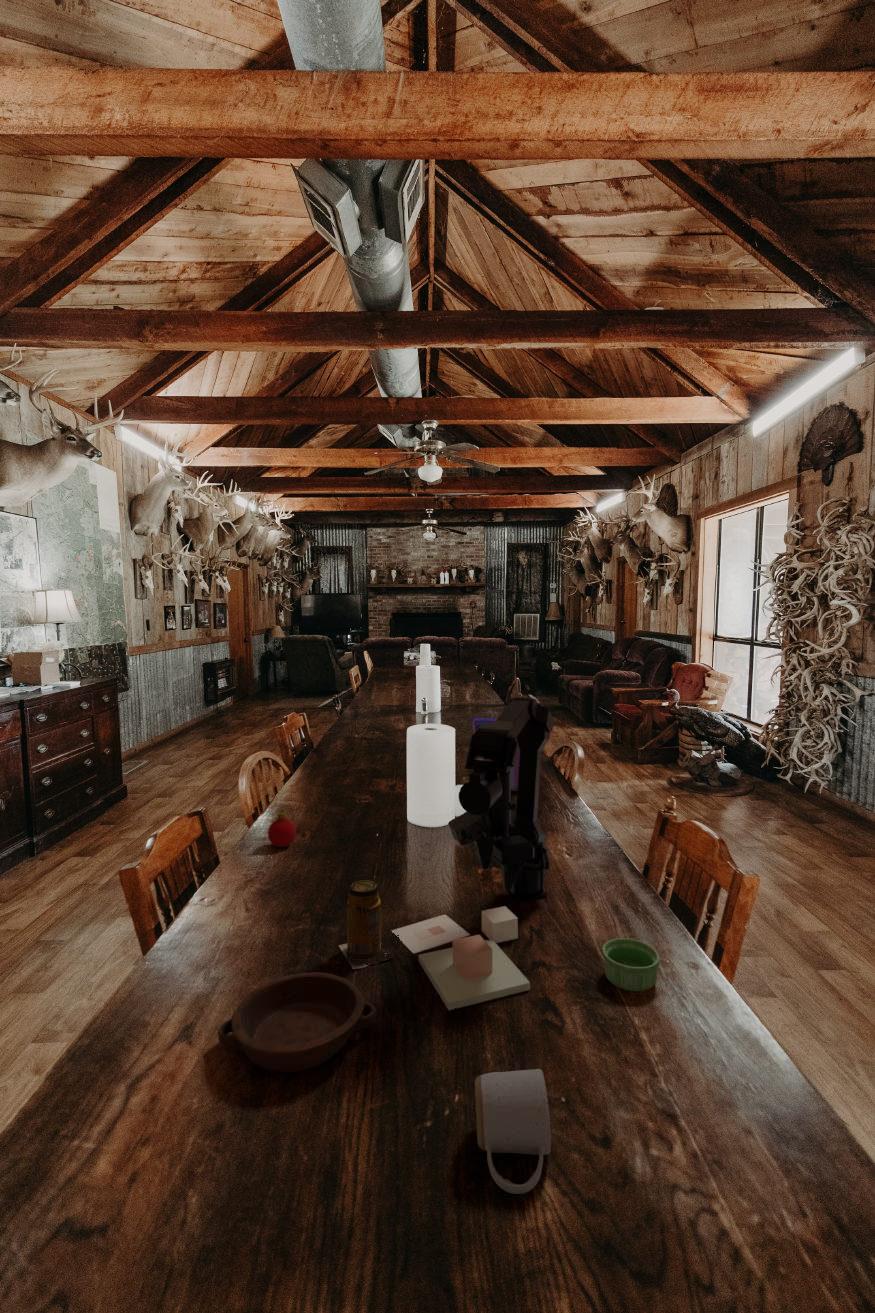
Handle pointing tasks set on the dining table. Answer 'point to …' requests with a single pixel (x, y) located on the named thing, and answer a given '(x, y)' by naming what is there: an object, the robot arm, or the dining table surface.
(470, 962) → the terracotta brick
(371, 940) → the condiment
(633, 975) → the ramekin
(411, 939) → the page
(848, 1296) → the dining table surface
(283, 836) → the christmas ornament
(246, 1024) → the dish
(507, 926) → the cream brick
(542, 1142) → the ceramic mug
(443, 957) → the baseplate
